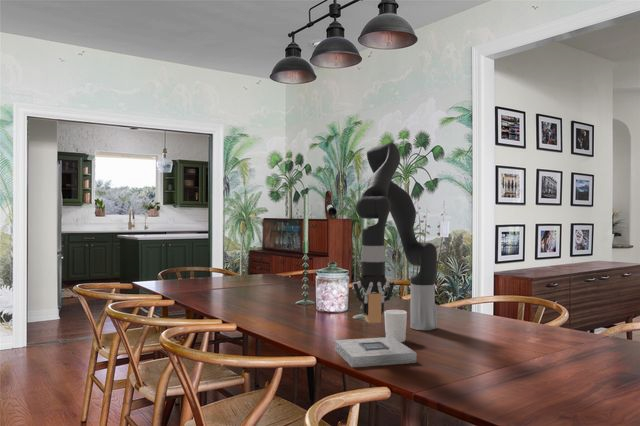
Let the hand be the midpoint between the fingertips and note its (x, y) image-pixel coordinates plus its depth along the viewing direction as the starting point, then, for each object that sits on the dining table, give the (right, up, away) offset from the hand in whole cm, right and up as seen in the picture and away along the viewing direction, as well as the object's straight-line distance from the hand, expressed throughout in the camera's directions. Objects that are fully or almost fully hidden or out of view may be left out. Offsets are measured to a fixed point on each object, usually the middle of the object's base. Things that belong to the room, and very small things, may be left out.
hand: (372, 314), depth 160 cm
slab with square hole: (0, -13, 0) cm, 13 cm away
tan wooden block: (0, -2, 0) cm, 2 cm away
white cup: (+10, -13, +20) cm, 26 cm away
